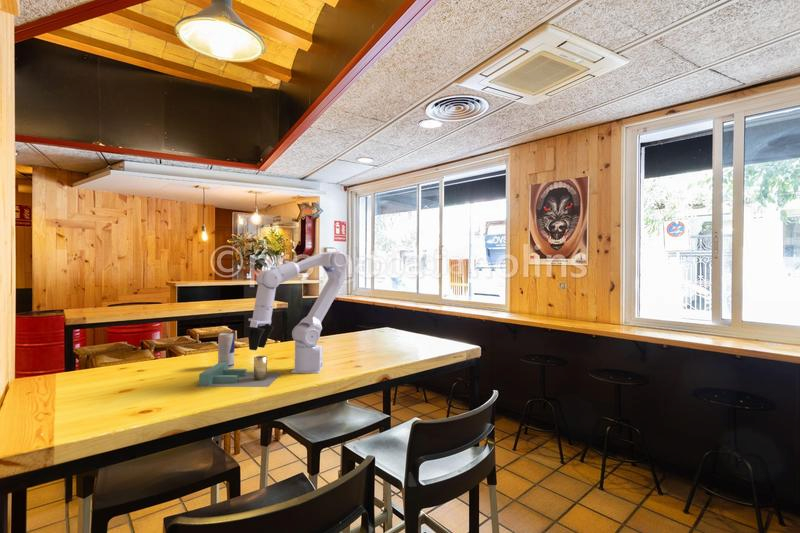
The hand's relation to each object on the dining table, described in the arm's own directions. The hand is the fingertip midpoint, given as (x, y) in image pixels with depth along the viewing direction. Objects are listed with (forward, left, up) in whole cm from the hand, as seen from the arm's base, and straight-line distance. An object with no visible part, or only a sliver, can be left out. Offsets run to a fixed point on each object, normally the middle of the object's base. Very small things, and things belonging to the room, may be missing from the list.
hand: (256, 348), depth 124 cm
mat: (+5, 0, -10) cm, 11 cm away
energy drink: (+16, -15, -10) cm, 24 cm away
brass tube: (-1, 0, -10) cm, 10 cm away
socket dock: (+9, 0, -10) cm, 13 cm away
